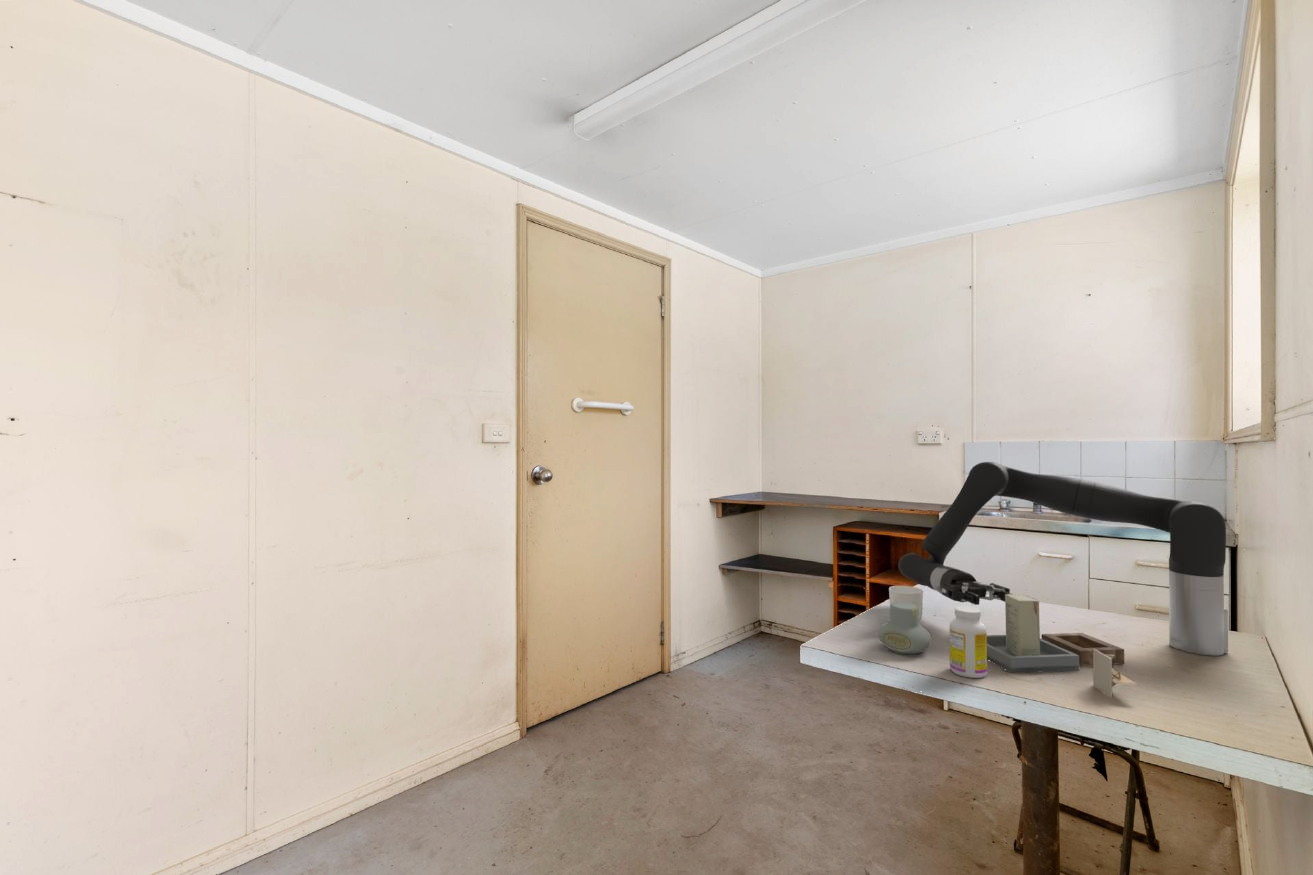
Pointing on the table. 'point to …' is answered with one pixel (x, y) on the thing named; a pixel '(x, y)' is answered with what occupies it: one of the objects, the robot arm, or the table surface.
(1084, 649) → the walnut collar
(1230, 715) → the table surface
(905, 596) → the white cup
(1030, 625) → the skincare box
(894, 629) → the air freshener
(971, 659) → the supplement bottle
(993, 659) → the slate tray
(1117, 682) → the architectural model
